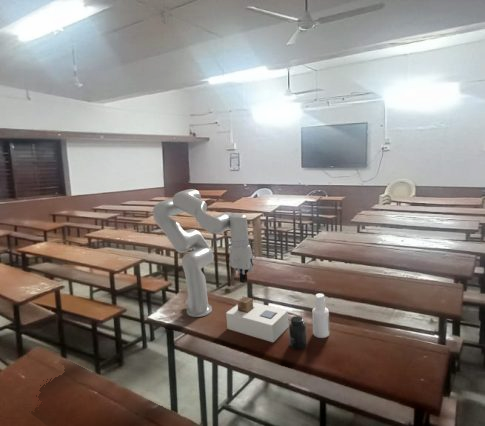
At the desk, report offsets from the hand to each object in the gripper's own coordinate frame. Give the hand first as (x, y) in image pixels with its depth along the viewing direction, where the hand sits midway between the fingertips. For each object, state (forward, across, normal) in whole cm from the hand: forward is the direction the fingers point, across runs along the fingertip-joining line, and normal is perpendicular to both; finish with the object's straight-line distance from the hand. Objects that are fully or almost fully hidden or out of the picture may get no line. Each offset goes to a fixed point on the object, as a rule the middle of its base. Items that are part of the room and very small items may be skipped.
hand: (243, 281), depth 166 cm
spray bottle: (+22, +33, +8) cm, 40 cm away
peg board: (+22, +6, 0) cm, 22 cm away
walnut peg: (+15, 0, 0) cm, 15 cm away
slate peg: (+20, +12, 0) cm, 23 cm away
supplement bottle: (+22, +28, -4) cm, 35 cm away
